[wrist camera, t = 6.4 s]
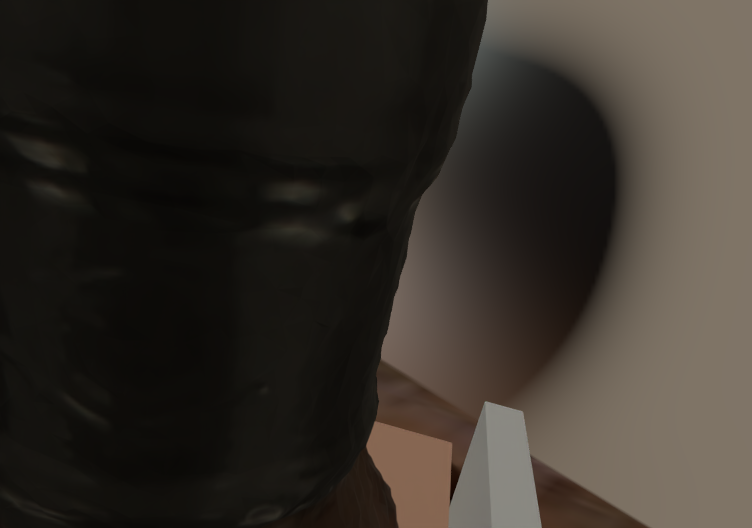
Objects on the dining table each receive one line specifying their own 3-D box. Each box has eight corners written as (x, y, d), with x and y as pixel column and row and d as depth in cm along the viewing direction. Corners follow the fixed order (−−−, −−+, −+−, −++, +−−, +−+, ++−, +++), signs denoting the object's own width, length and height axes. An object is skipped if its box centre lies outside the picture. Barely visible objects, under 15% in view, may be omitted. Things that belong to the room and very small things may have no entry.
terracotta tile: (104, 579, 20) (105, 558, 20) (233, 397, 32) (235, 381, 31) (435, 682, 20) (443, 661, 19) (447, 458, 31) (452, 443, 31)
